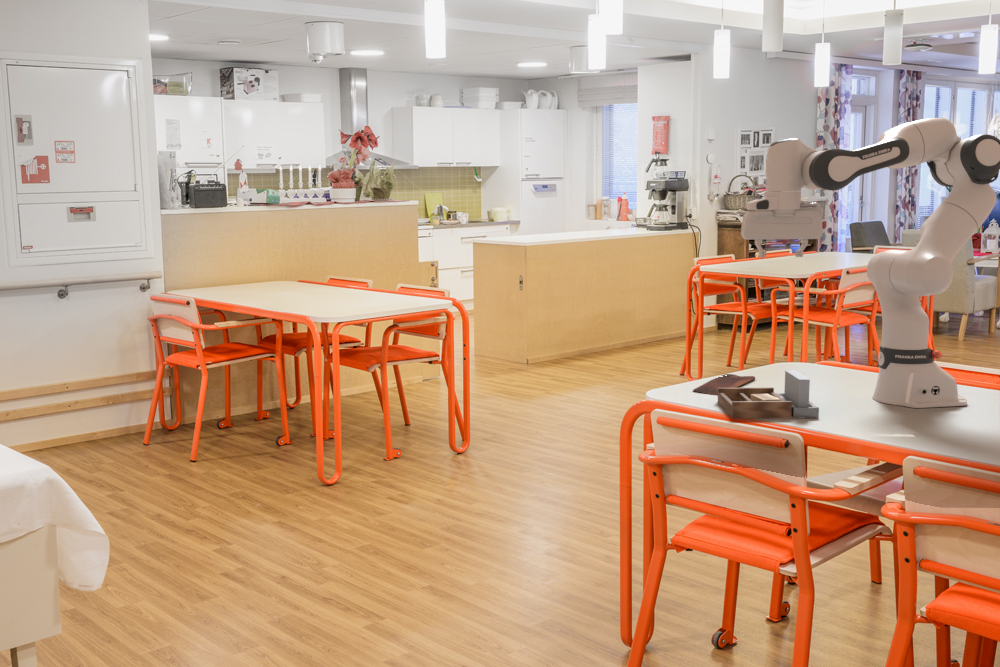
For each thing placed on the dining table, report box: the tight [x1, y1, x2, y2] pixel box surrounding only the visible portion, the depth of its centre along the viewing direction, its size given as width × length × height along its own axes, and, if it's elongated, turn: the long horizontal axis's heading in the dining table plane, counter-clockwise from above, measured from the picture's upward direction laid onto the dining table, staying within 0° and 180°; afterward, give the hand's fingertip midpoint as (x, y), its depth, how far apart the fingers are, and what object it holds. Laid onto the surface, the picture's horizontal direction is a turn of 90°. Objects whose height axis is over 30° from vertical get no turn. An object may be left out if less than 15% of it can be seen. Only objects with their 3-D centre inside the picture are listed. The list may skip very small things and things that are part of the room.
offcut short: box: [751, 394, 781, 401], centre depth 234 cm, size 4×7×2 cm, turn 11°
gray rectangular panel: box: [783, 369, 811, 407], centre depth 233 cm, size 2×12×9 cm, turn 179°
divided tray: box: [717, 387, 792, 419], centre depth 234 cm, size 14×17×4 cm
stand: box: [775, 392, 820, 419], centre depth 233 cm, size 6×17×2 cm, turn 179°
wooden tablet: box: [692, 373, 756, 396], centre depth 263 cm, size 26×2×10 cm
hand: (780, 257), depth 242 cm, fingers open, 8 cm apart
